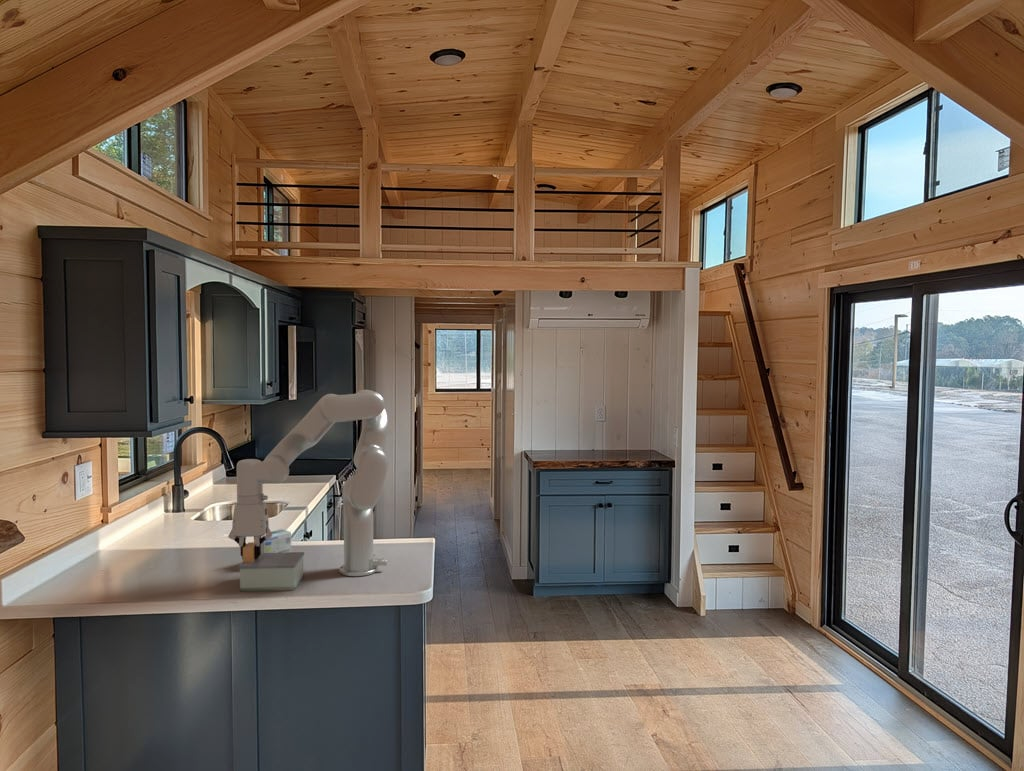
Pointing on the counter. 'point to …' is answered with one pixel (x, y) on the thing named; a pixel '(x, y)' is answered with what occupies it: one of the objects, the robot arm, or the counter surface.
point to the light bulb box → (277, 542)
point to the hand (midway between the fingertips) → (250, 557)
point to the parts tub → (271, 578)
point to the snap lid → (268, 559)
